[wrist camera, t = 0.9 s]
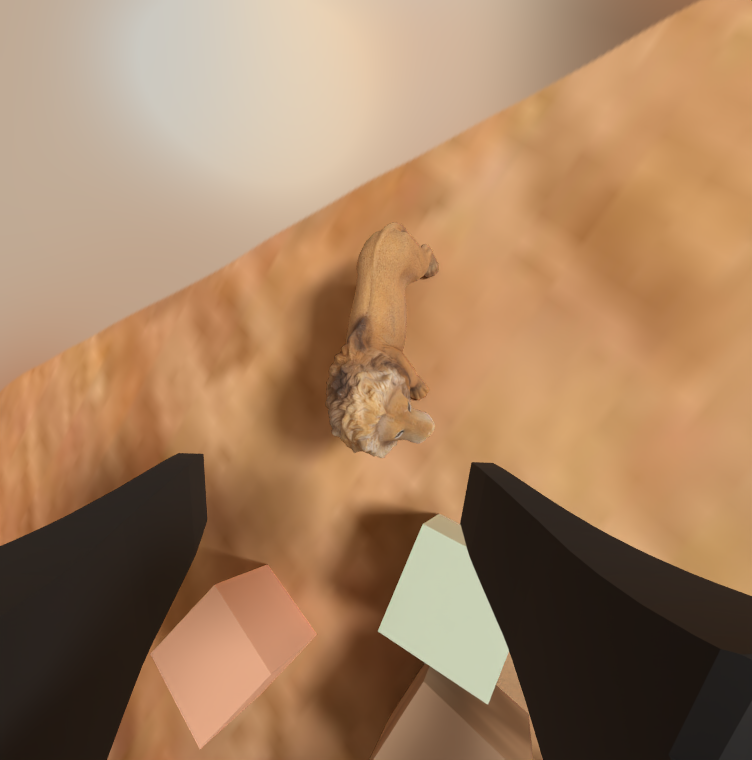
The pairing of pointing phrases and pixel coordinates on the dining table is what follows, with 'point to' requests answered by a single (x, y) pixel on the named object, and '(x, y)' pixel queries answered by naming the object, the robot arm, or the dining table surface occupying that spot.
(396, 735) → the walnut block
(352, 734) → the dining table surface
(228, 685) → the terracotta block
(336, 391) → the lion figurine
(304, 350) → the dining table surface
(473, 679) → the sage block
